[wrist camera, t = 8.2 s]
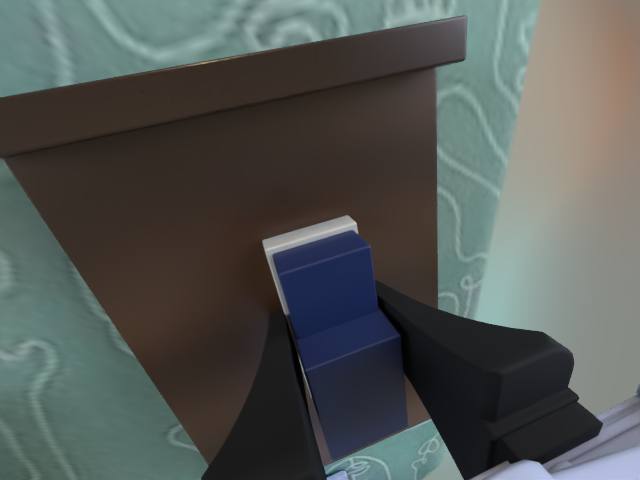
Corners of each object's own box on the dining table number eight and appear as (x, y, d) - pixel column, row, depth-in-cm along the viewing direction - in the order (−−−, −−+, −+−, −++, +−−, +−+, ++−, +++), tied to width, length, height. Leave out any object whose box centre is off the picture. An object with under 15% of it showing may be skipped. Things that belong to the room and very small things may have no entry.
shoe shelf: (418, 384, 22) (454, 436, 18) (235, 462, 19) (236, 539, 16) (398, 43, 12) (468, 13, 9) (29, 113, 10) (-87, 112, 6)
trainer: (370, 357, 15) (411, 429, 12) (306, 382, 15) (330, 466, 11) (347, 214, 12) (398, 256, 8) (261, 239, 11) (276, 296, 8)
